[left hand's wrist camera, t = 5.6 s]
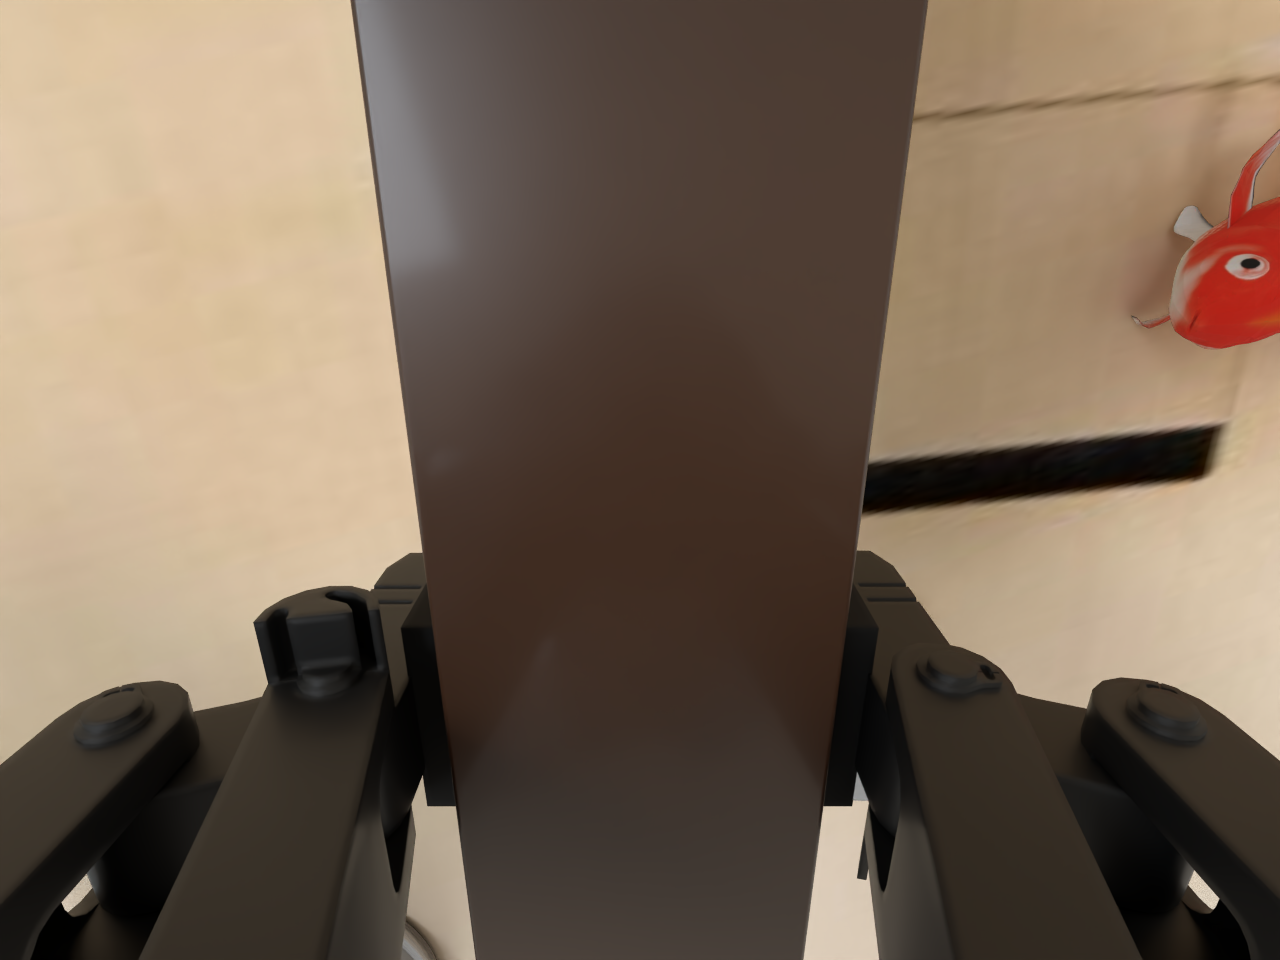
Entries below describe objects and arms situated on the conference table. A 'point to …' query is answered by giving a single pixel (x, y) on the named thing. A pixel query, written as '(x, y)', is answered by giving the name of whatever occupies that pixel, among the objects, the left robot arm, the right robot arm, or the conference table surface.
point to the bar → (639, 435)
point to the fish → (1229, 269)
